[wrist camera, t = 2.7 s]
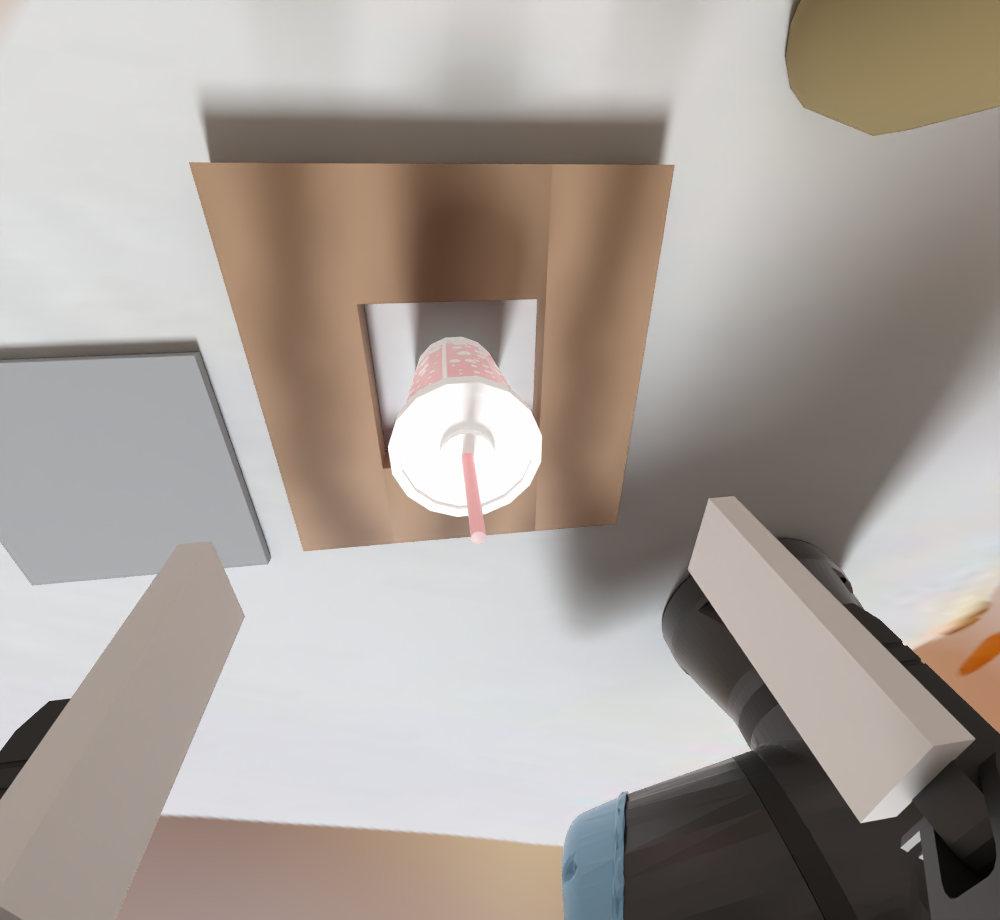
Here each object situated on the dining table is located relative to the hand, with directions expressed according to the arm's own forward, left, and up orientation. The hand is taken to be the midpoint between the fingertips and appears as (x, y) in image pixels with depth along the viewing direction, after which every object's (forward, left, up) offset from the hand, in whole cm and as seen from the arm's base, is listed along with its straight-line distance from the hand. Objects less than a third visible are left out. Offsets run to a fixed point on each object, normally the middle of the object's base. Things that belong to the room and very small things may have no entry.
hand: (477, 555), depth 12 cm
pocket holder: (0, 0, -15) cm, 15 cm away
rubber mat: (+20, +5, -15) cm, 26 cm away
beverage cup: (0, 0, -15) cm, 15 cm away
